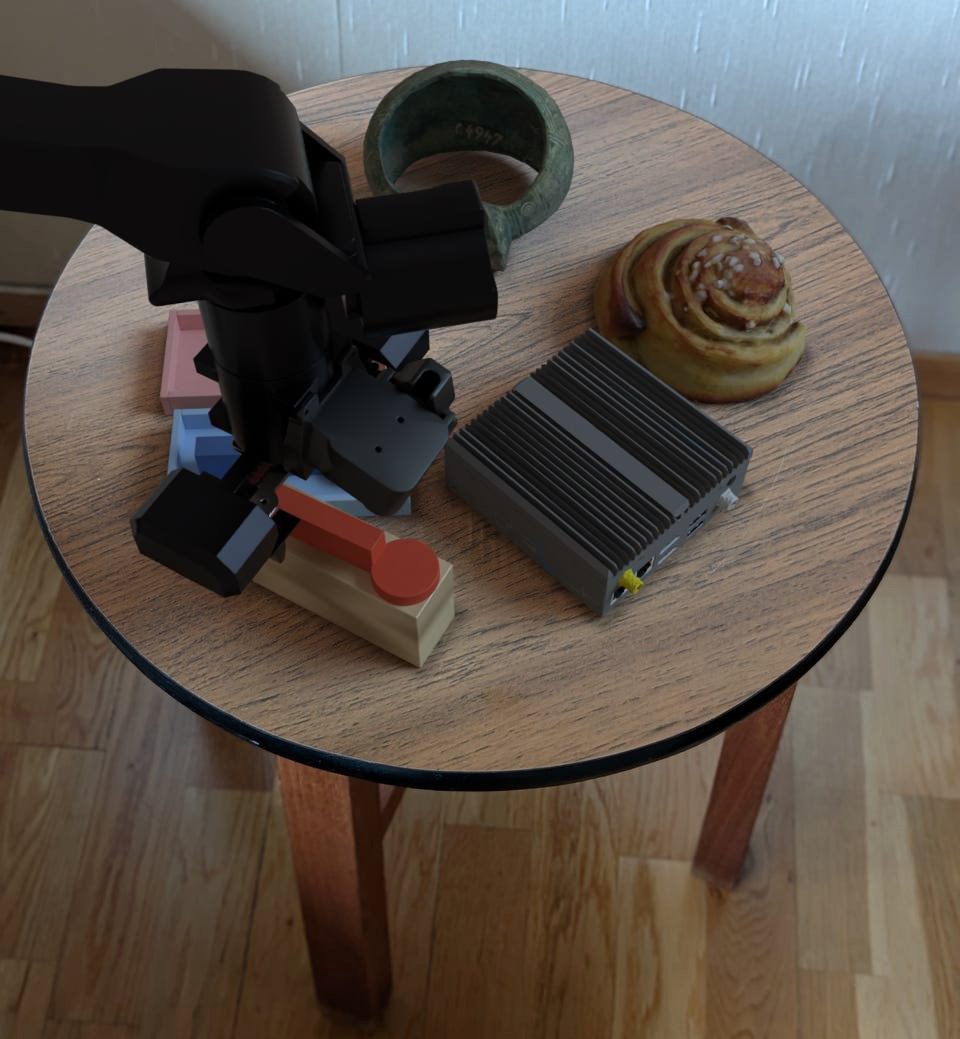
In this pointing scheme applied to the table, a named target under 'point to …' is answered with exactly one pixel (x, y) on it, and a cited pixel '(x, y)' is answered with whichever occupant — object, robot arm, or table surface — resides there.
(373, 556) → the red spoon
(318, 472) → the blue paddle
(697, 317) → the pastry
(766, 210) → the table surface
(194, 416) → the blue tray
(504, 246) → the bracelet
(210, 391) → the rose tray
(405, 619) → the wooden rectangular block
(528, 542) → the electronic device
